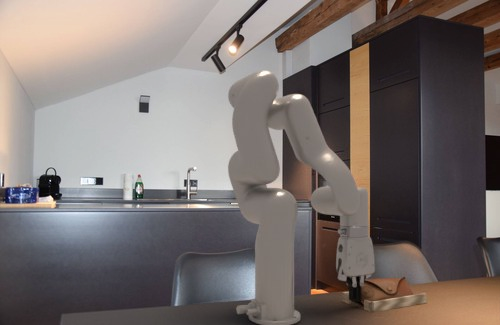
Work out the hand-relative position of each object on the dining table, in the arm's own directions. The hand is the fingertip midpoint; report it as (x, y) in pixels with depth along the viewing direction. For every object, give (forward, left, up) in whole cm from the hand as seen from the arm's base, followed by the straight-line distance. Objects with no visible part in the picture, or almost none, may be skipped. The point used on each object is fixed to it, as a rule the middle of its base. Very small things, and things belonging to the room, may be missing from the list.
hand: (355, 300), depth 116 cm
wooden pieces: (+11, 0, -2) cm, 11 cm away
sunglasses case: (+12, +1, -2) cm, 12 cm away
